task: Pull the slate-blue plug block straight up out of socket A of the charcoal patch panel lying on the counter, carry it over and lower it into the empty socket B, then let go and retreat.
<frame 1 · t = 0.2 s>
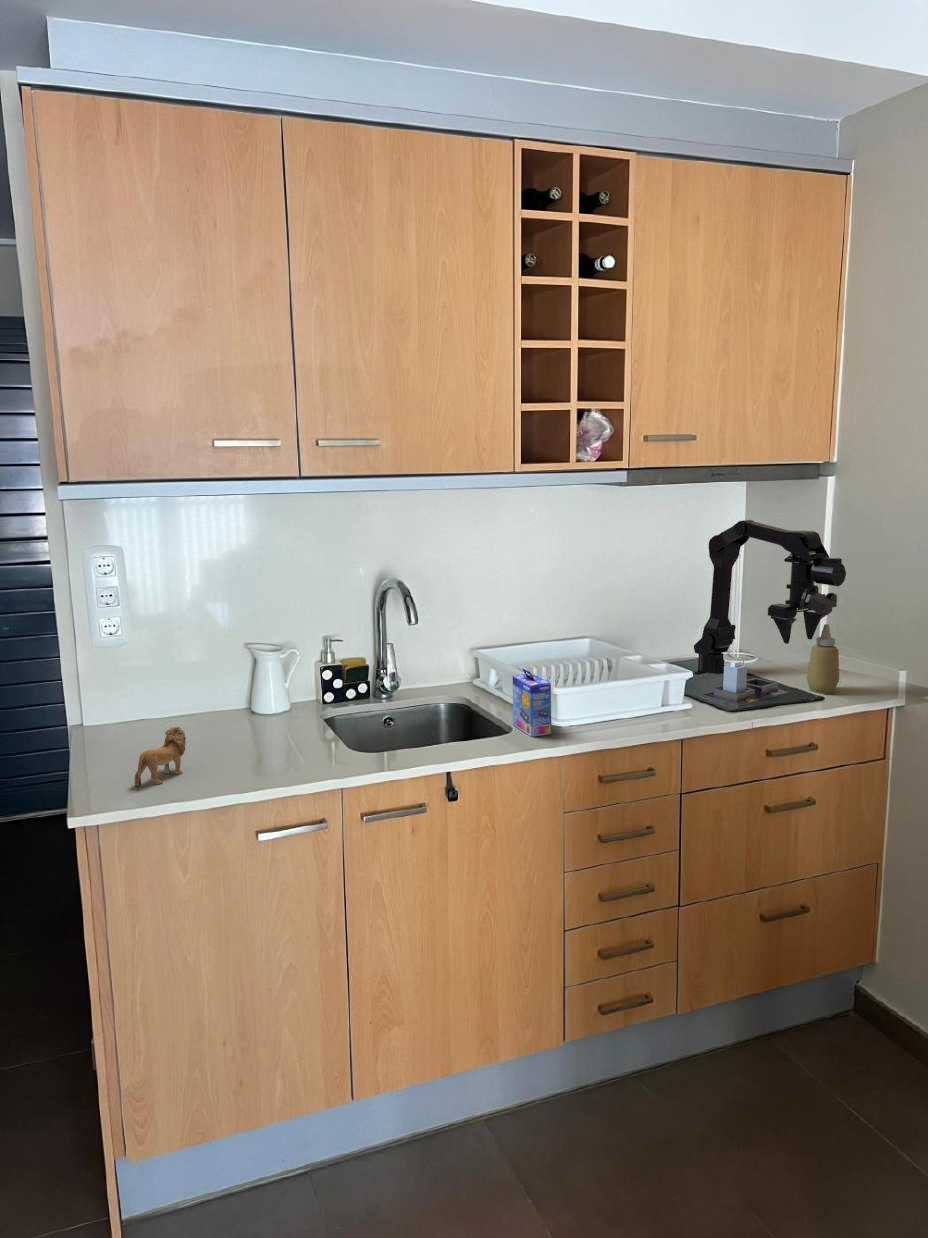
hand: (798, 641, 241), 14 cm above the worktop, fingers open, 9 cm apart
ink cartridge box: (531, 731, 216), on the worktop
panel: (746, 697, 243), on the worktop
squeeze bottle: (821, 692, 248), on the worktop
plug: (734, 696, 240), point 1 cm above the worktop, touching panel
lion figurine: (161, 778, 187), on the worktop
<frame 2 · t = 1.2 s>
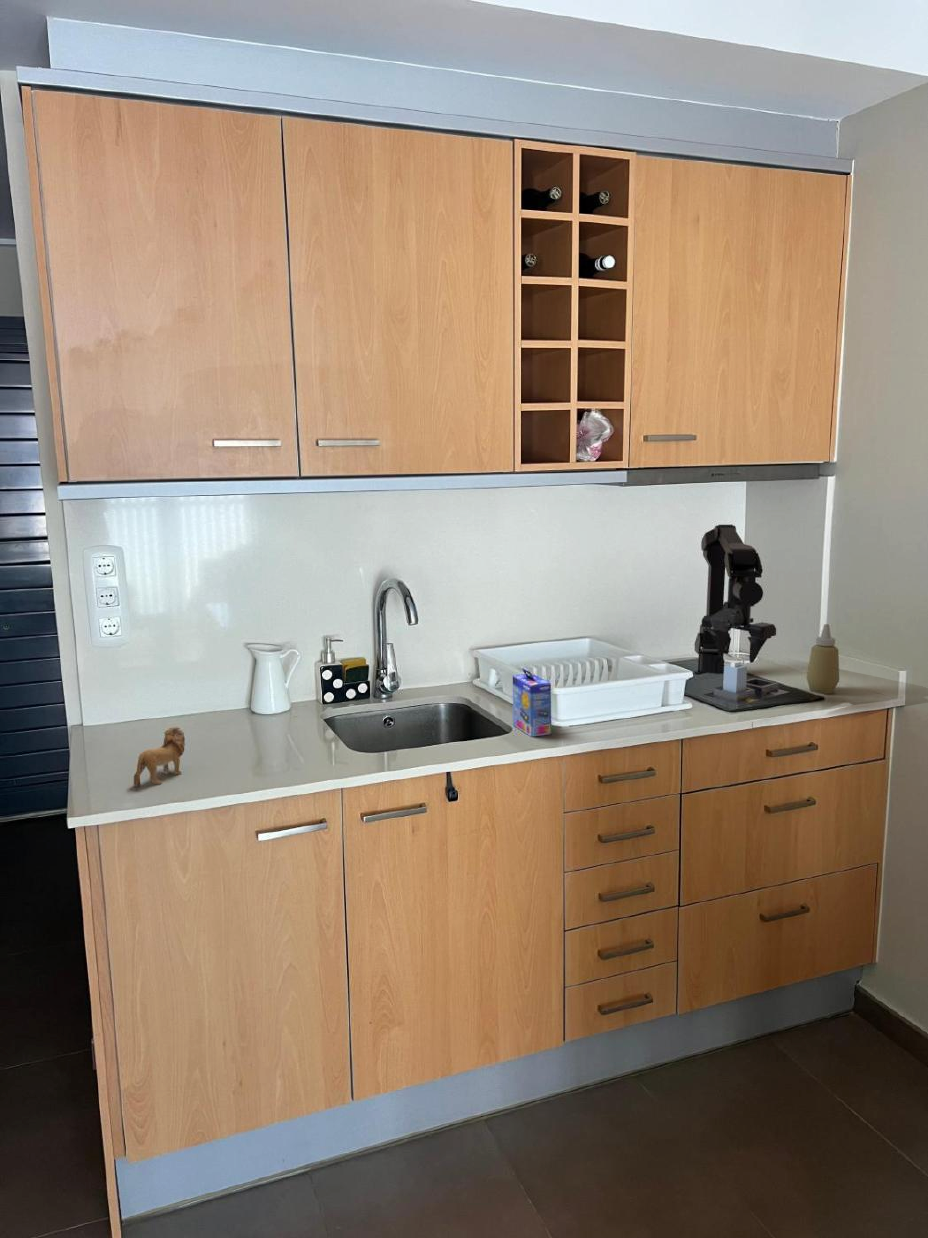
hand: (736, 659, 238), 11 cm above the worktop, fingers open, 9 cm apart
nothing on the worktop moved.
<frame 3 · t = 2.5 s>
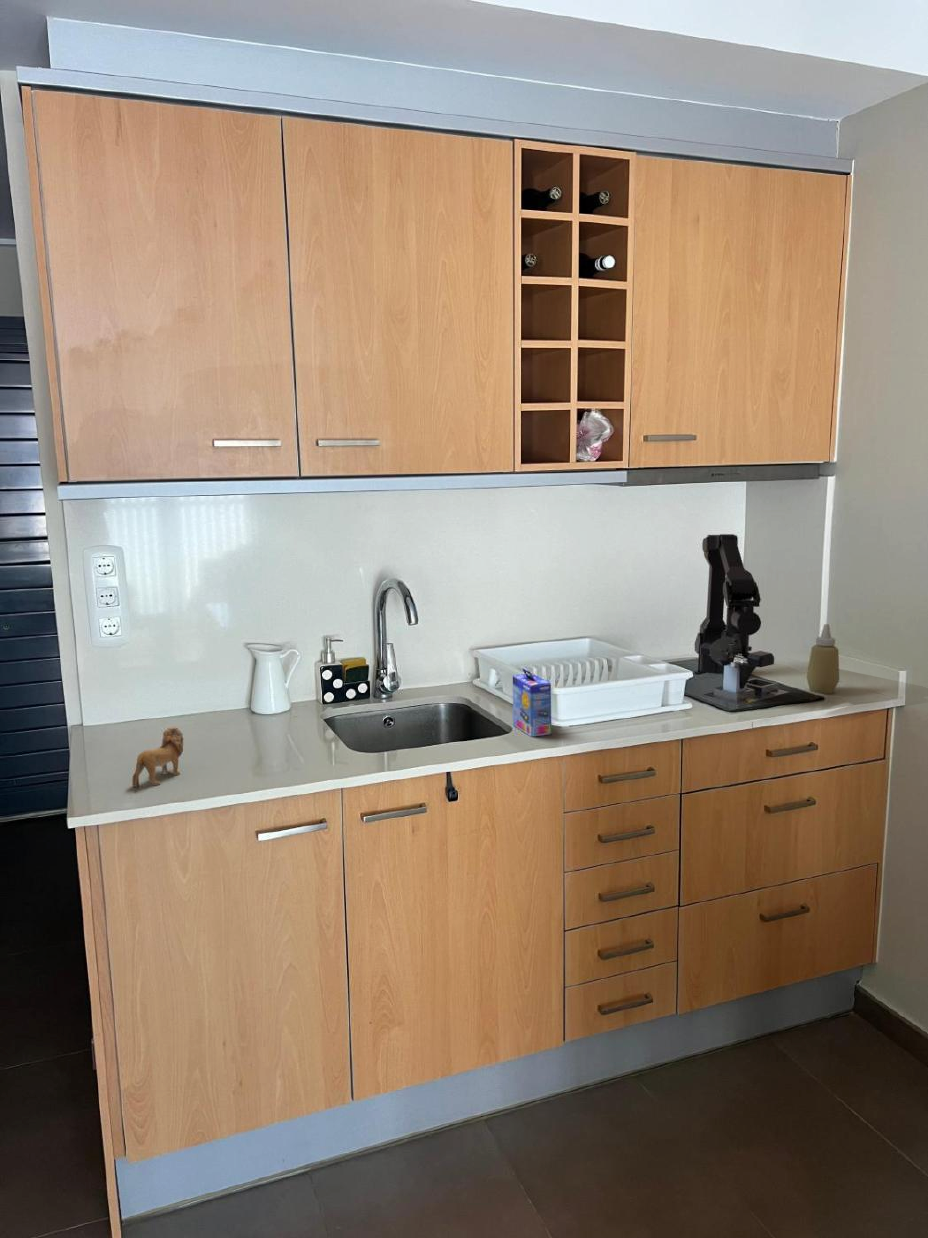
hand: (734, 686, 239), 4 cm above the worktop, fingers closed on plug, 4 cm apart
plug: (734, 696, 240), point 1 cm above the worktop, touching gripper, panel
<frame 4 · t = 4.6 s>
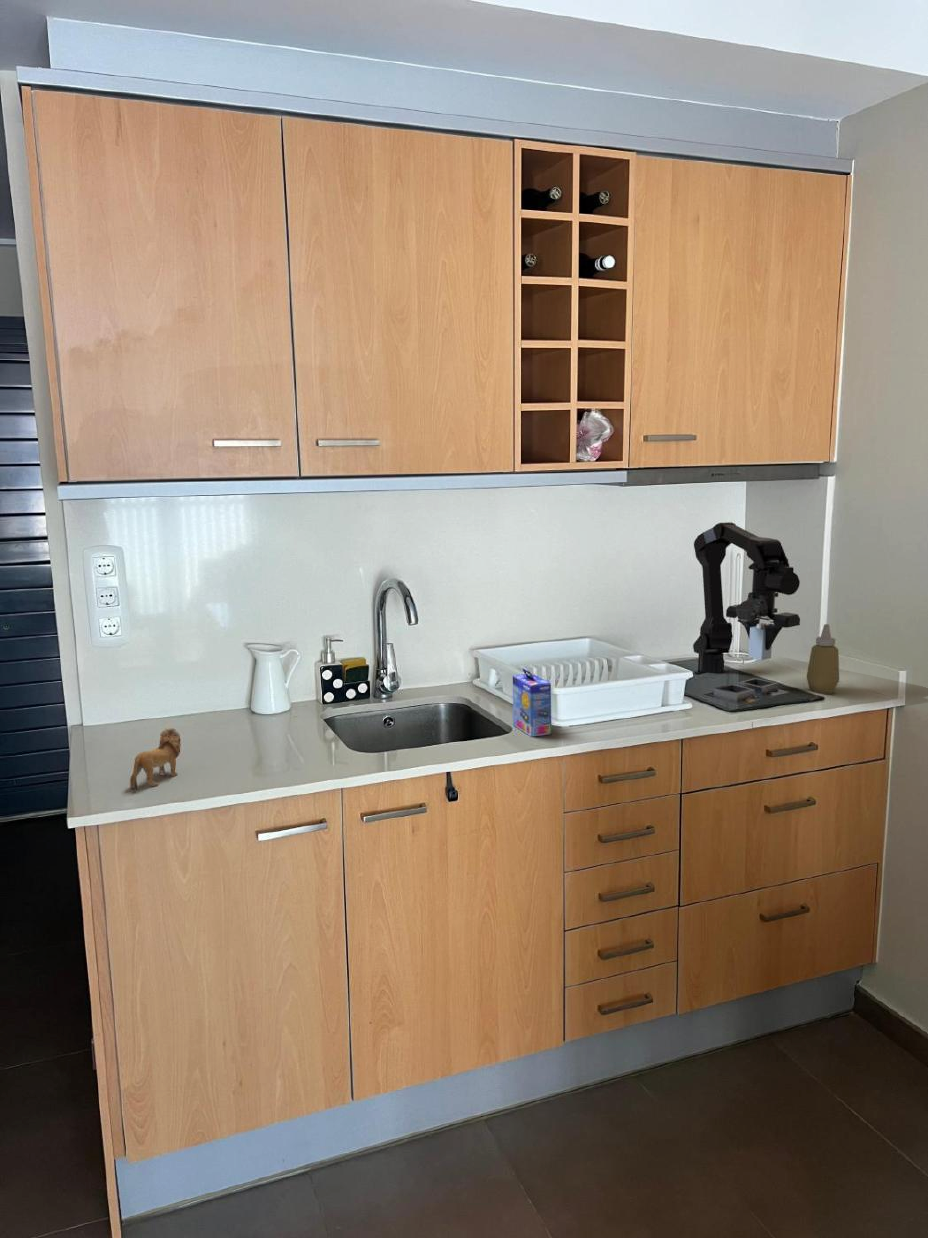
hand: (760, 648, 243), 12 cm above the worktop, fingers closed on plug, 4 cm apart
plug: (759, 657, 244), point 10 cm above the worktop, touching gripper
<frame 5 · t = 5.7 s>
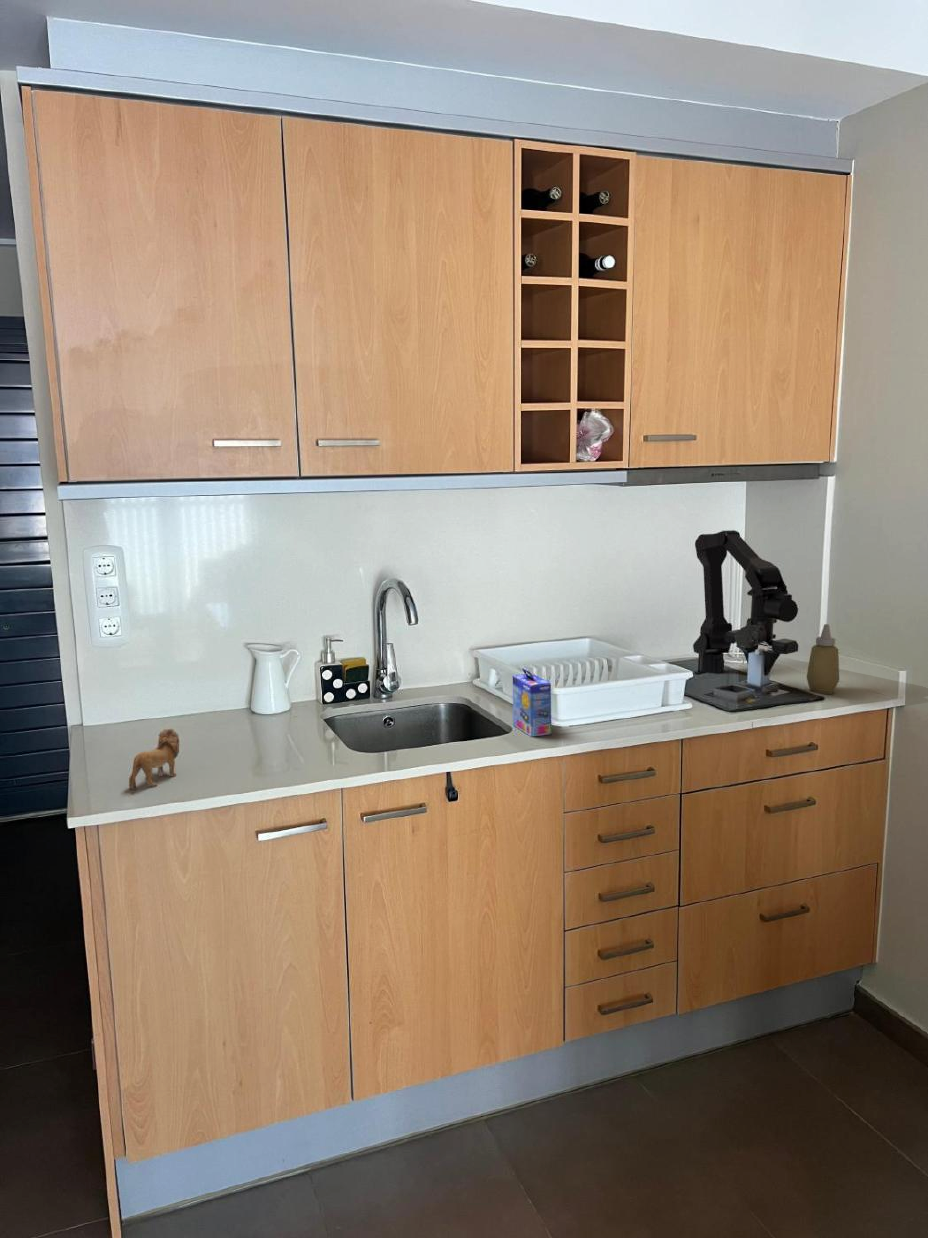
hand: (758, 673, 245), 5 cm above the worktop, fingers closed on plug, 4 cm apart
plug: (758, 683, 245), point 3 cm above the worktop, touching gripper
when the fingers open (4 cm above the worktop, at t = 6.6 s): plug stays where it is, resting on panel.
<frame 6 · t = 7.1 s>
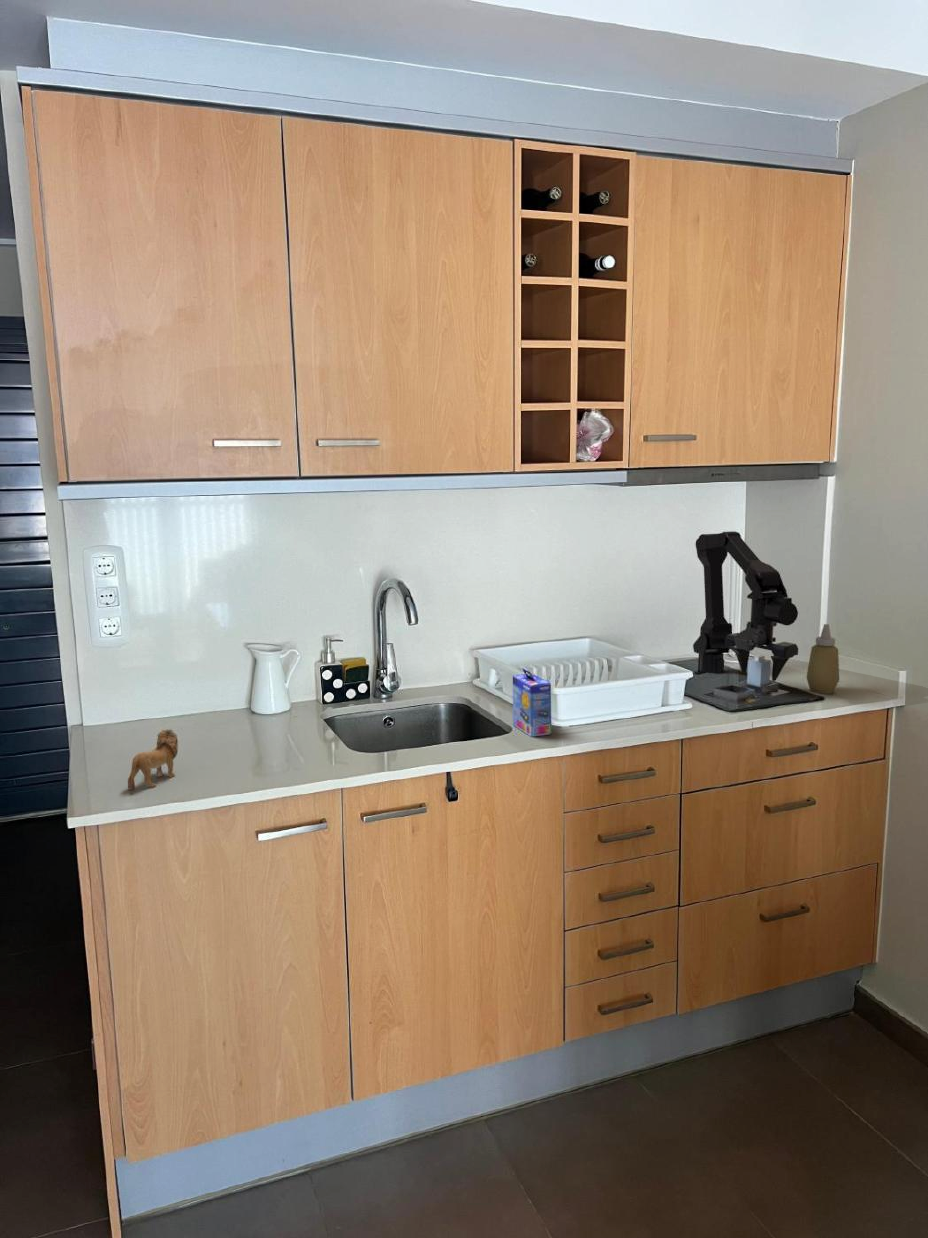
hand: (758, 677, 245), 4 cm above the worktop, fingers open, 9 cm apart
plug: (757, 690, 245), point 1 cm above the worktop, touching panel
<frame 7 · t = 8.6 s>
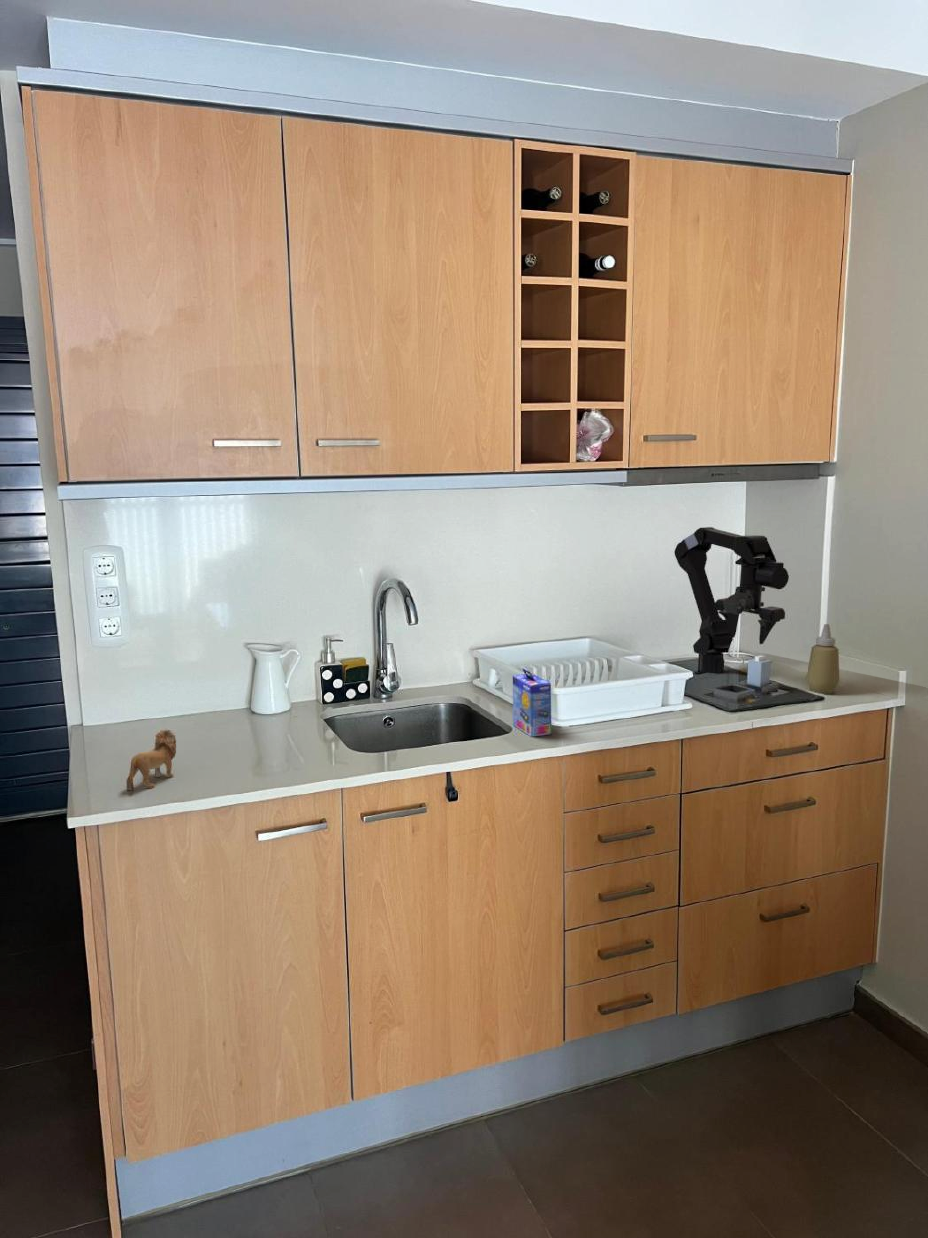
hand: (746, 640, 252), 12 cm above the worktop, fingers open, 9 cm apart
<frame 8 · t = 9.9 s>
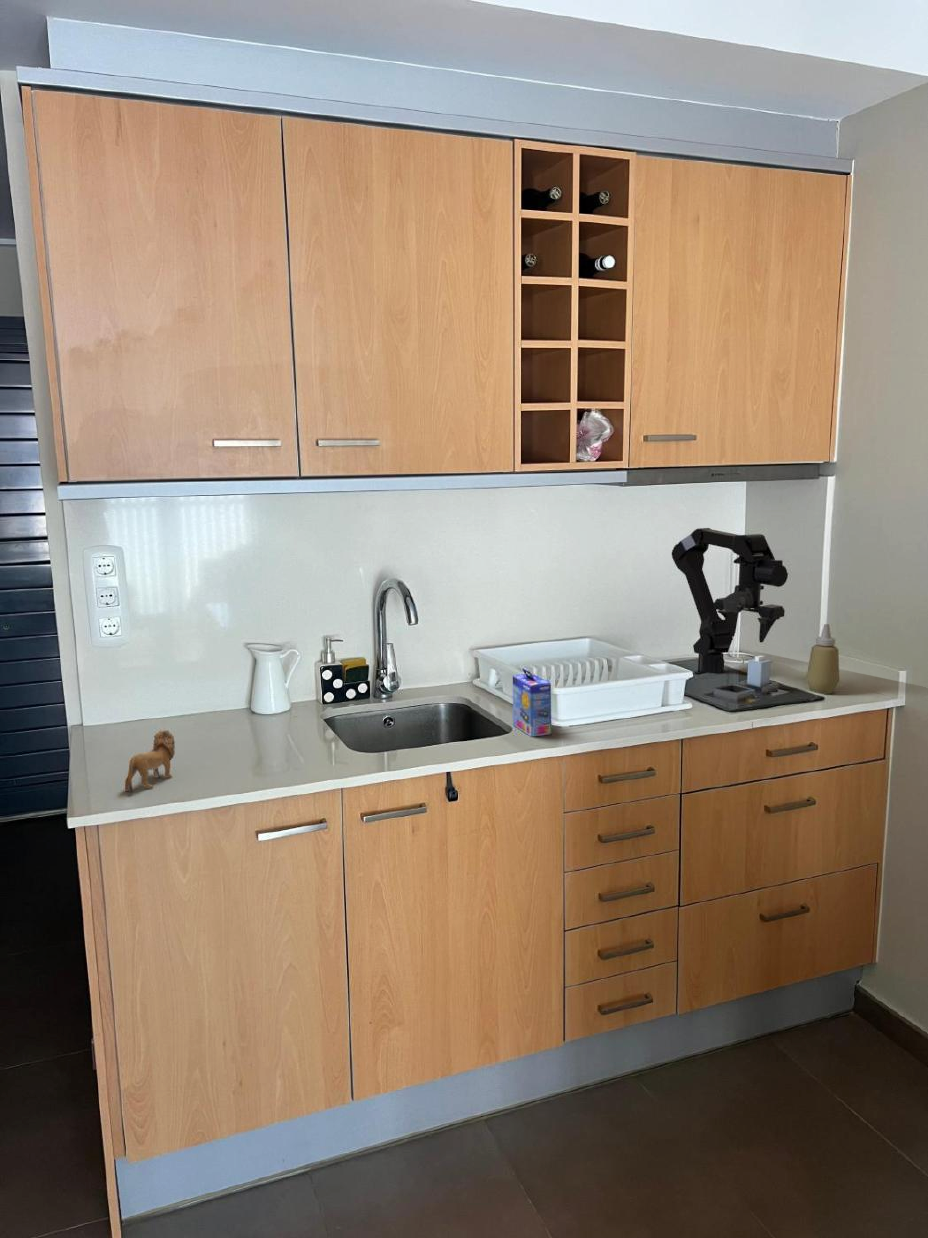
hand: (746, 639, 252), 13 cm above the worktop, fingers open, 9 cm apart
at the end: plug 0.1 cm from the target spot on the panel, point 1.0 cm above the panel's base; plug tilted 0°; the gripper is holding nothing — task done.
